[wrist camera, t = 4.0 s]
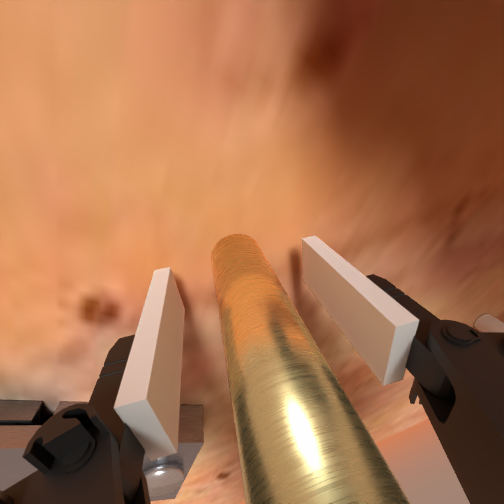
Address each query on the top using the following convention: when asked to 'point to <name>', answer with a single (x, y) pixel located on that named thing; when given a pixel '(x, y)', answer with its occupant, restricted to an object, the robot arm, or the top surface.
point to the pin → (289, 396)
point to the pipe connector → (489, 324)
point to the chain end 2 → (156, 472)
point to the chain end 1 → (20, 413)
